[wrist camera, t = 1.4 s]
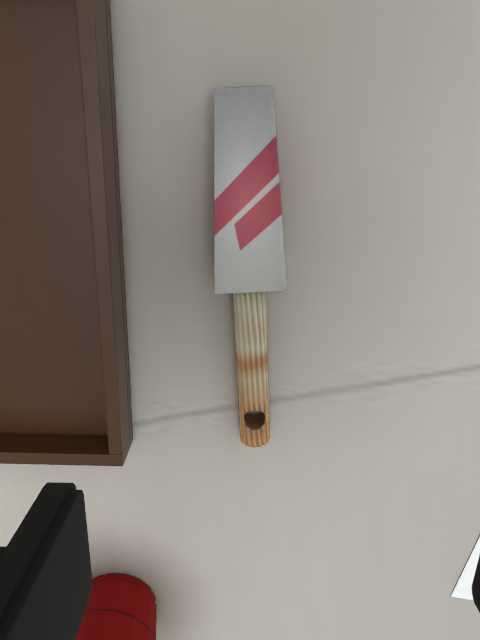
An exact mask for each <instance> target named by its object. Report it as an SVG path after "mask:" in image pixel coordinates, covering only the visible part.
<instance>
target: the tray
mask: <svg viewBox="0 0 480 640" xmlns="http://www.w3.org/2000/svg"><path fill="white" fill-rule="evenodd" d="M132 440H133V431H132V412H131V393H130V374H129V356H128V337H127V318H126V299H125V281H124V262H123V243H122V224H121V206H120V187H119V168H118V149H117V131H116V112H115V93H114V74H113V56H112V37H111V18H110V0H0V463H5V464H50V465H94V466H123V464H124V462H125V459H126V456H127V454H128V451H129V449H130V445H131V443H132Z"/></svg>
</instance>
